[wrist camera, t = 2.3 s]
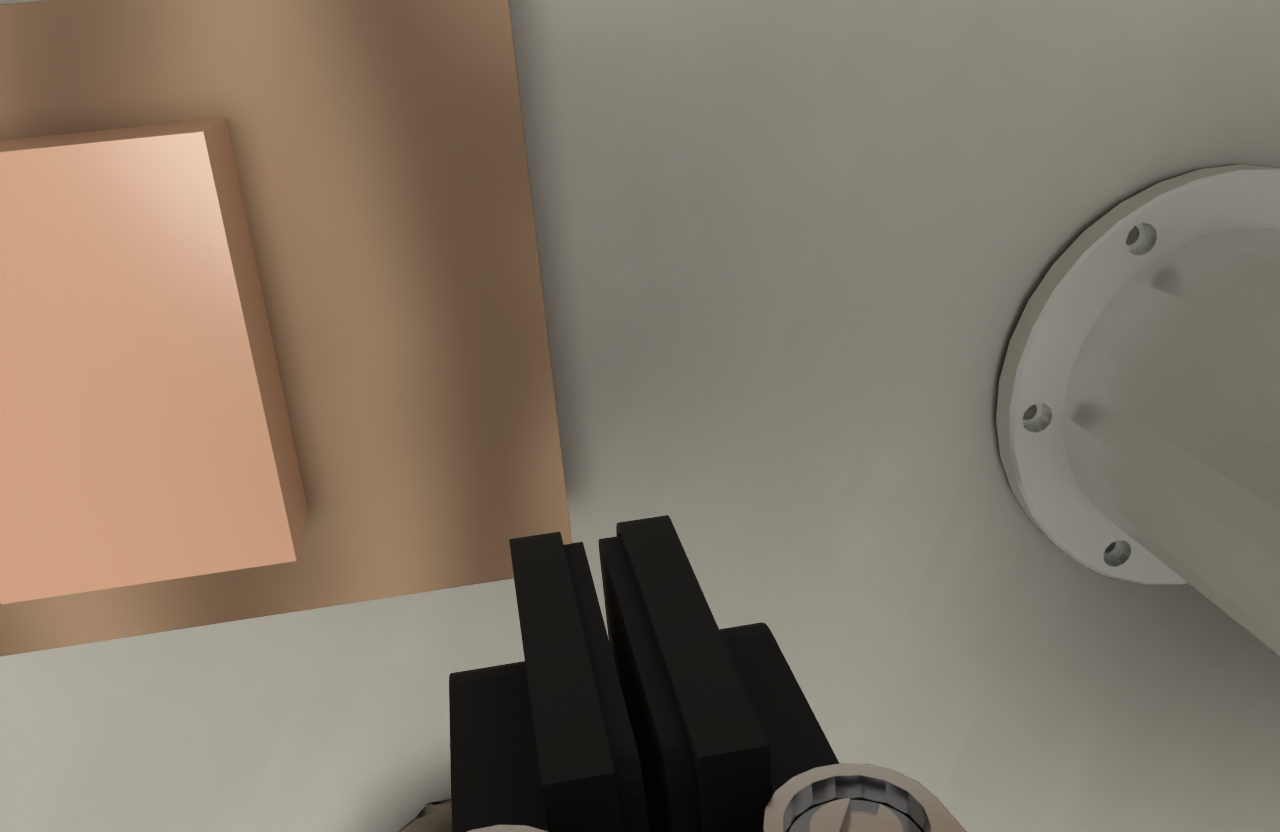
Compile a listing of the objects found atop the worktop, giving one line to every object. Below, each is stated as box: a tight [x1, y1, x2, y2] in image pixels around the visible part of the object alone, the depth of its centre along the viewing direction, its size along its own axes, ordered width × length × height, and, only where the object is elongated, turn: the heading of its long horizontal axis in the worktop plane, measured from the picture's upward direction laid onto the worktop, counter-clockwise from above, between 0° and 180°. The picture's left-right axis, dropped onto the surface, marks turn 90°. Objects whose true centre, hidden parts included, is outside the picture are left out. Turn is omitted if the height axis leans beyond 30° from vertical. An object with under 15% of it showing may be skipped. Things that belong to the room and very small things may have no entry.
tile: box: [0, 118, 308, 604], centre depth 24 cm, size 6×9×2 cm, turn 5°
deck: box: [0, 0, 572, 656], centre depth 27 cm, size 16×14×4 cm
